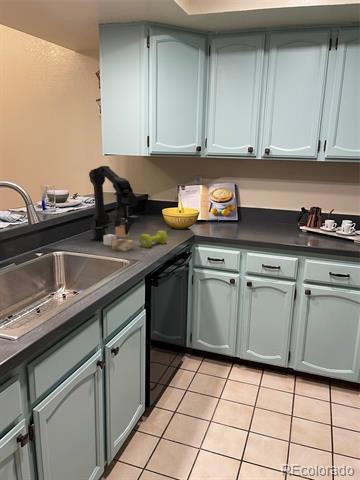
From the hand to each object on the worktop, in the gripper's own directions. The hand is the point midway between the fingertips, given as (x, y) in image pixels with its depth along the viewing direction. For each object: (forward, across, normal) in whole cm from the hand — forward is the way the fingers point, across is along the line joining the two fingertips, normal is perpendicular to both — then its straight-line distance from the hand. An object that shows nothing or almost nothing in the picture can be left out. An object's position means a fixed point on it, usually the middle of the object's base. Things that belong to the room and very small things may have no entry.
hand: (122, 233), depth 202 cm
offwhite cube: (+8, -11, +3) cm, 14 cm away
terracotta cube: (+1, 0, 0) cm, 1 cm away
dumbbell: (+8, +10, +15) cm, 20 cm away
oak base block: (+8, 0, 0) cm, 8 cm away
